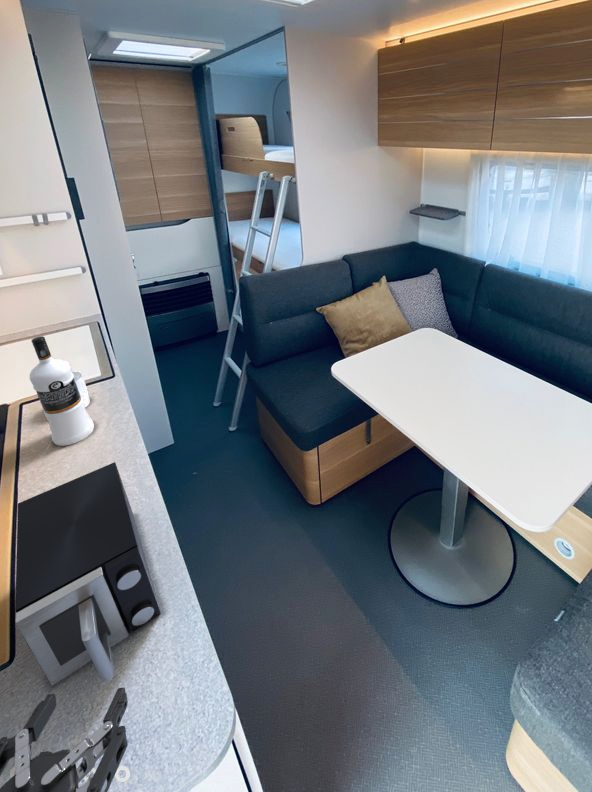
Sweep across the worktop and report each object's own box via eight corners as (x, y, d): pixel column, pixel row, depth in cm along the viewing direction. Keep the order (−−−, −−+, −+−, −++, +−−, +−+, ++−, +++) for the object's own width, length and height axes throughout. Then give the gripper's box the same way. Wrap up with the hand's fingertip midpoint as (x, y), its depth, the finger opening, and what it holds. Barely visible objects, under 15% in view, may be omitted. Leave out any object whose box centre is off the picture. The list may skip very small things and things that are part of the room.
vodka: (94, 419, 116) (61, 325, 105) (96, 438, 109) (60, 339, 98) (54, 432, 112) (14, 336, 100) (53, 453, 104) (10, 351, 93)
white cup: (82, 396, 126) (72, 369, 123) (98, 403, 123) (88, 375, 119) (54, 411, 120) (43, 383, 116) (70, 419, 117) (59, 390, 113)
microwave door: (137, 675, 62) (109, 611, 56) (55, 733, 56) (14, 668, 50) (127, 629, 68) (101, 566, 61) (52, 677, 62) (15, 613, 56)
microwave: (162, 619, 69) (140, 556, 63) (53, 691, 60) (14, 626, 54) (134, 519, 87) (115, 461, 80) (47, 563, 78) (17, 503, 72)
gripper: (-97, 942, 37) (34, 723, 53) (69, 920, 38) (148, 712, 54) (-115, 884, 36) (24, 677, 51) (58, 863, 37) (142, 667, 53)
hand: (88, 695), depth 53 cm, fingers open, 8 cm apart
